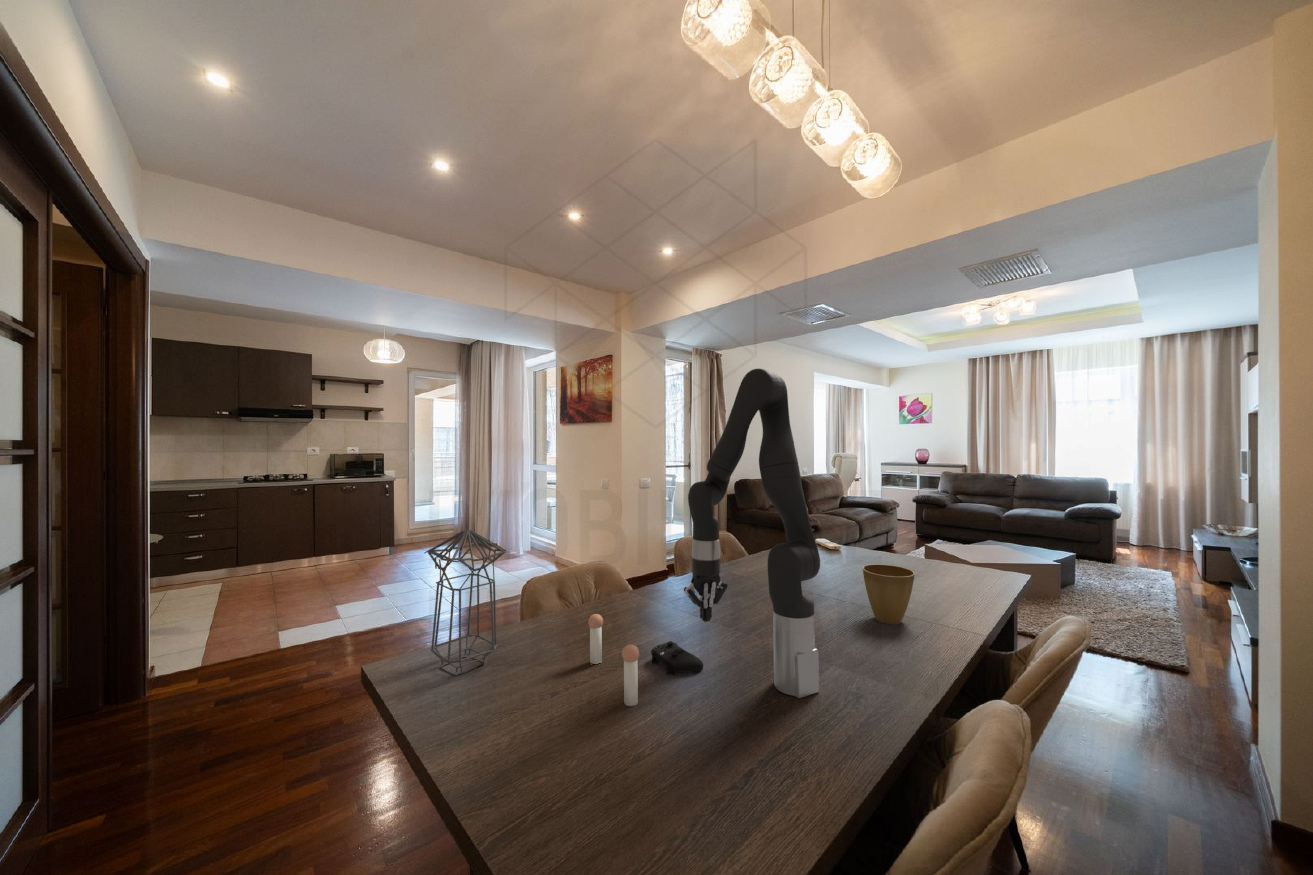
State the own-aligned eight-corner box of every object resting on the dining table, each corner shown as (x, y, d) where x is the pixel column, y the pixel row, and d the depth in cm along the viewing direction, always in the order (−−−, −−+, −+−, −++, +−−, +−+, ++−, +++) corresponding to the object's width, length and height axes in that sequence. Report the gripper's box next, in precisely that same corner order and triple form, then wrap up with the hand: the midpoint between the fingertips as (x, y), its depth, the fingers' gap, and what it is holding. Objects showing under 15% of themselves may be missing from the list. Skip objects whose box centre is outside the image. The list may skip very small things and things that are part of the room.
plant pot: (866, 626, 146) (865, 574, 146) (860, 610, 160) (859, 562, 160) (920, 631, 141) (919, 577, 142) (910, 614, 156) (909, 565, 156)
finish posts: (642, 704, 103) (642, 646, 103) (626, 708, 101) (626, 650, 102) (600, 657, 126) (599, 610, 126) (586, 661, 124) (586, 613, 124)
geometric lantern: (475, 648, 133) (478, 523, 134) (507, 665, 123) (510, 530, 124) (418, 667, 121) (421, 530, 122) (448, 688, 111) (452, 538, 112)
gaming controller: (708, 653, 118) (674, 654, 114) (704, 678, 118) (670, 681, 113) (677, 634, 131) (646, 634, 126) (674, 657, 130) (642, 658, 125)
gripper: (691, 561, 120) (691, 630, 120) (734, 555, 126) (734, 621, 126) (677, 555, 127) (677, 620, 127) (718, 550, 133) (718, 611, 133)
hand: (705, 620), depth 127 cm, fingers closed
